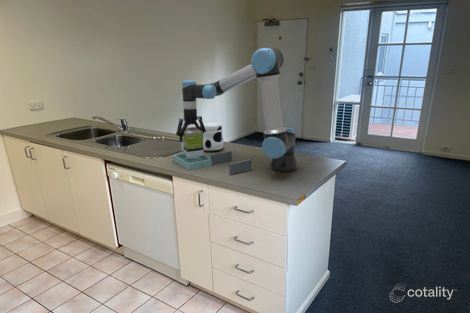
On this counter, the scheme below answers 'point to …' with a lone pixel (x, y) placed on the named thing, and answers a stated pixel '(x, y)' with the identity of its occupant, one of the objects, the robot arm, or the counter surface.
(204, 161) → the tray
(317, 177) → the counter surface
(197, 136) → the tea box
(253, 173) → the counter surface
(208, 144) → the milk container
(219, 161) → the dock
